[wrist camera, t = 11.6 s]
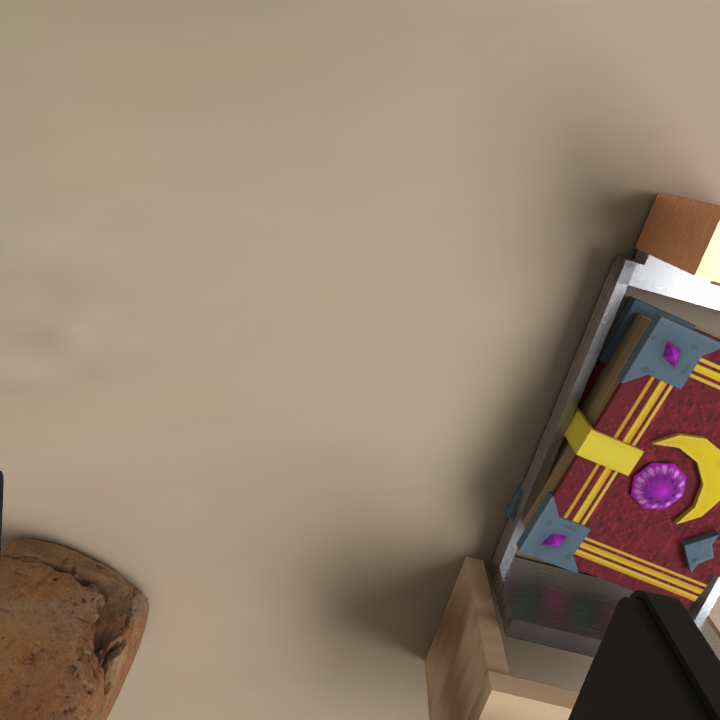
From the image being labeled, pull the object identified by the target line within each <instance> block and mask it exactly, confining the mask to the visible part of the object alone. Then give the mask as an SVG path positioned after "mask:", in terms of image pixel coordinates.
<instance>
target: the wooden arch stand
mask: <svg viewBox="0 0 720 720" xmlns="http://www.w3.org/2000/svg"><path fill="white" fill-rule="evenodd" d="M706 619H707V621H708V622H709V624H710V625H711V627H712V628H713V630H714V631H715V633H716V634H717V636H718V637H719V639H720V632H719V631H718V629H717V628H716V626H715V625H714V623H713V622H712V620H711V619H710V617H708V616H707V618H706ZM425 668H426V681H427V693H428V706H429V719H430V720H568V718H569V716H570V714H571V711H572V709H573V707H574V704H575V702H576V700H577V697H578V695H579V692H575V691H571V690H566V689H562V688H558V687H554V686H550V685H546V684H541V683H537V682H533V681H529V680H525V679H521V678H516V677H512V676H510V671H509V667H508V663H507V659H506V654H505V650H504V646H503V641H502V637H501V633H500V629H499V624H498V620H497V616H496V612H495V607H494V603H493V599H492V594H491V590H490V586H489V582H488V577H487V573H486V569H485V564H484V560H480V559H476V558H472V557H468V556H466V557H465V559H464V562H463V564H462V567H461V570H460V572H459V575H458V577H457V580H456V582H455V585H454V588H453V590H452V593H451V595H450V598H449V600H448V603H447V605H446V608H445V611H444V613H443V616H442V618H441V621H440V623H439V626H438V629H437V631H436V634H435V636H434V639H433V641H432V644H431V647H430V649H429V652H428V654H427V657H426V659H425Z"/></svg>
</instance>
